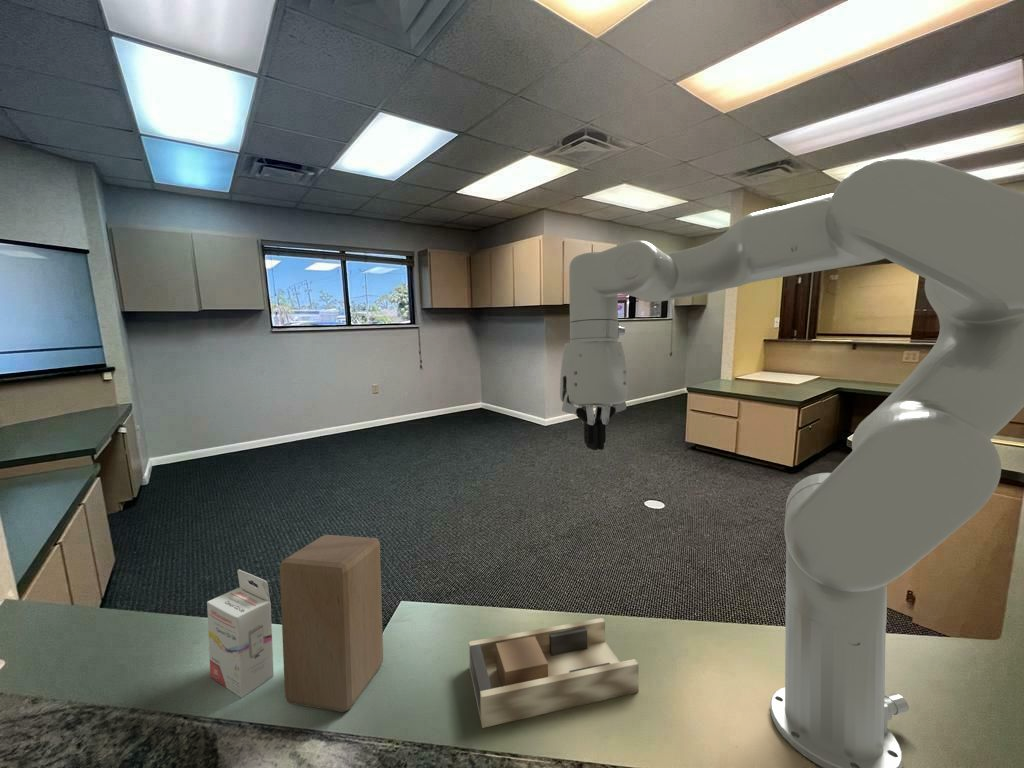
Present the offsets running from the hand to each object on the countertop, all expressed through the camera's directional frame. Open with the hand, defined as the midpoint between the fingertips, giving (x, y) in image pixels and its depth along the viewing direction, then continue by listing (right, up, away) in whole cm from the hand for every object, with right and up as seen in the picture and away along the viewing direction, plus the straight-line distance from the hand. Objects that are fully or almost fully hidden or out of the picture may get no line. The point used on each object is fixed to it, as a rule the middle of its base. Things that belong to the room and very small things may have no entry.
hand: (594, 448), depth 67 cm
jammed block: (-12, -33, -8) cm, 36 cm away
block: (-39, -33, -7) cm, 51 cm away
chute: (-8, -33, -7) cm, 34 cm away
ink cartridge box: (-53, -34, -5) cm, 63 cm away
